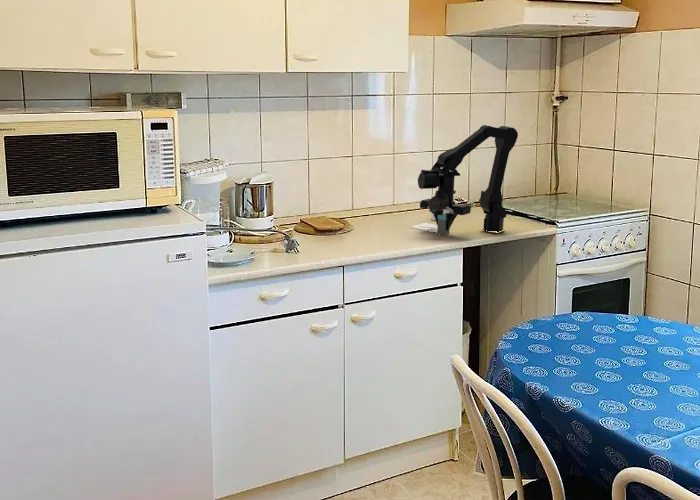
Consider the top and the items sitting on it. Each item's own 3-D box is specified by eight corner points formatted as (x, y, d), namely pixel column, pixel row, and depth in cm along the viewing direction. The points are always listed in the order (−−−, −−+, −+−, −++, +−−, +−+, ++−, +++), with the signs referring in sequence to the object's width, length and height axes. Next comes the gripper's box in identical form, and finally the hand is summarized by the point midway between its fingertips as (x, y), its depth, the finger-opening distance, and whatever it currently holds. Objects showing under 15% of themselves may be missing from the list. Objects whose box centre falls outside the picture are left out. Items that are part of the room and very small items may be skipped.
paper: (450, 228, 293) (450, 227, 293) (436, 233, 285) (436, 232, 285) (424, 223, 300) (424, 222, 300) (409, 227, 293) (409, 226, 293)
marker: (449, 234, 284) (450, 215, 282) (444, 236, 281) (445, 216, 279) (441, 233, 286) (442, 213, 284) (436, 234, 283) (437, 214, 282)
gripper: (412, 187, 279) (410, 228, 283) (456, 194, 267) (453, 237, 272) (429, 183, 287) (427, 224, 291) (472, 190, 276) (469, 232, 280)
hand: (443, 229), depth 283 cm, fingers closed on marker, 3 cm apart
